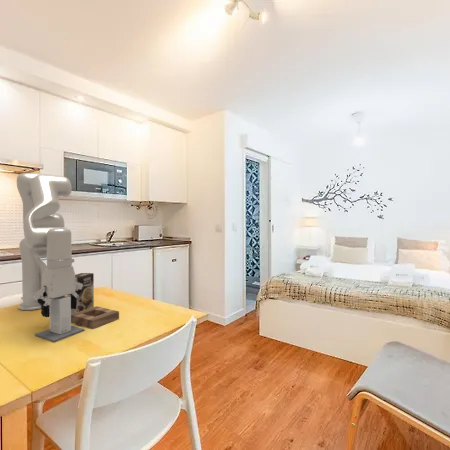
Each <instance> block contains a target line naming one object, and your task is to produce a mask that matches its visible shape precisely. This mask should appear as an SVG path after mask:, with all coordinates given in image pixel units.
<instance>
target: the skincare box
mask: <svg viewBox="0 0 450 450" xmlns="http://www.w3.org/2000/svg"><path fill="white" fill-rule="evenodd" d="M71 325H72V323H71V297H67V295H66V296H62V297H58V298H54V299H51V301H50V316H49V329H50V332H54V333H57V334H63V333H66V332H68V331H71Z"/></svg>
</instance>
